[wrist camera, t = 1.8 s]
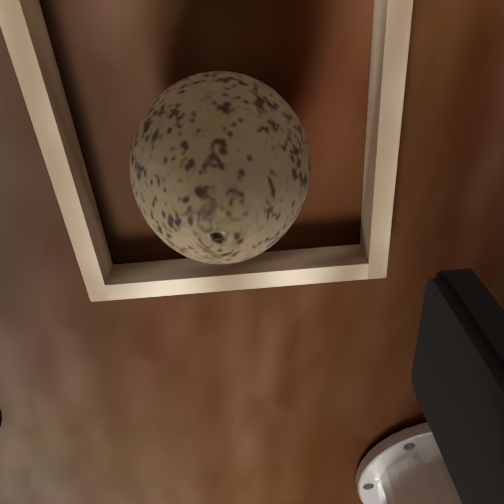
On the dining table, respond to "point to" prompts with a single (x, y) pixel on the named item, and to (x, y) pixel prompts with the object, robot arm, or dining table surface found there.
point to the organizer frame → (188, 270)
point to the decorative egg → (220, 167)
